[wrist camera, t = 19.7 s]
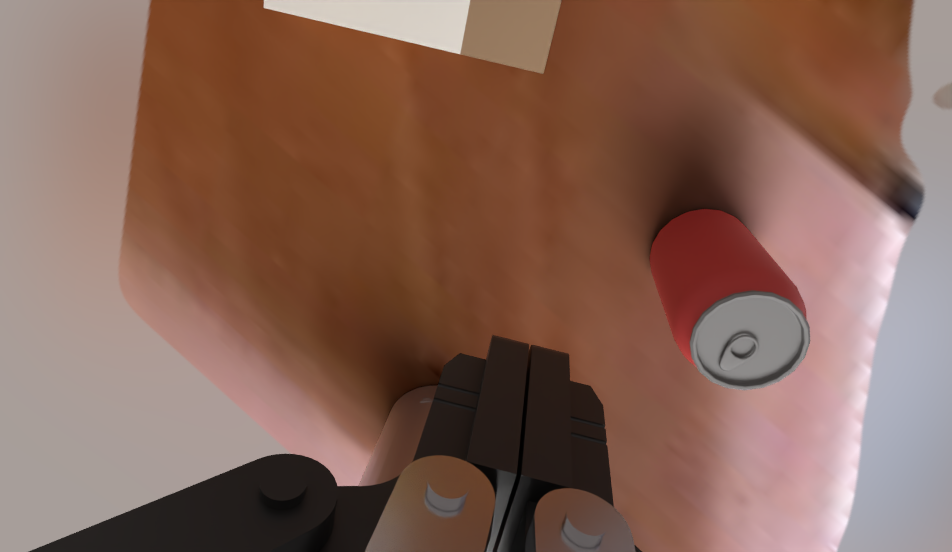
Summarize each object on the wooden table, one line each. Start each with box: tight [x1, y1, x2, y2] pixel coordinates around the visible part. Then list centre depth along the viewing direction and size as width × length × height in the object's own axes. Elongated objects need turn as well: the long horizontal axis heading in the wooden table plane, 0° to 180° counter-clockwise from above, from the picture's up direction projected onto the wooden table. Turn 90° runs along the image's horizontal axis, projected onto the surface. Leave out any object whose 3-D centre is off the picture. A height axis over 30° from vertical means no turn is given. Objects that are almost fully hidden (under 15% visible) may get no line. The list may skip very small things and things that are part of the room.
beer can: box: [649, 209, 810, 390], centre depth 35 cm, size 7×7×12 cm
